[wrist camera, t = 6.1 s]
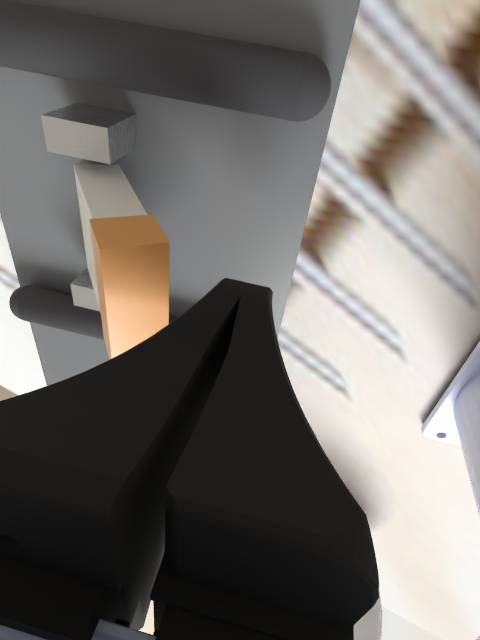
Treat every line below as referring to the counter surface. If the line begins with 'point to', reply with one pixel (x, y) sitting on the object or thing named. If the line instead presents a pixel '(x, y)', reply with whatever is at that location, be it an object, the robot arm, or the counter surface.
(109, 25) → the box
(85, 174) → the lever
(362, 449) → the counter surface
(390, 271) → the counter surface
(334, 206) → the counter surface
